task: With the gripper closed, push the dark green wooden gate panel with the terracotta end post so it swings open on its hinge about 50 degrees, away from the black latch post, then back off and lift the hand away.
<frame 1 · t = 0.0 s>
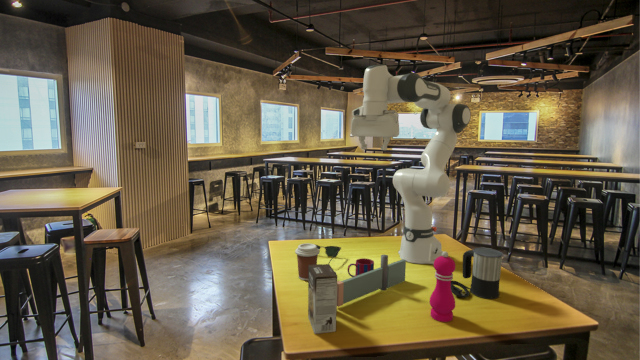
hand: (373, 149, 130), 48 cm above the table, tool pointing down, fingers open, 8 cm apart
coffee cup: (307, 277, 134), on the table
coffee box: (321, 325, 101), on the table
milk frother: (473, 294, 122), on the table
fence: (383, 288, 125), on the table
sunglasses: (318, 262, 151), on the table
pepper mill: (441, 317, 106), on the table
gate: (360, 285, 116), point 5 cm above the table, hinge at 0.0°
mug: (360, 279, 133), on the table
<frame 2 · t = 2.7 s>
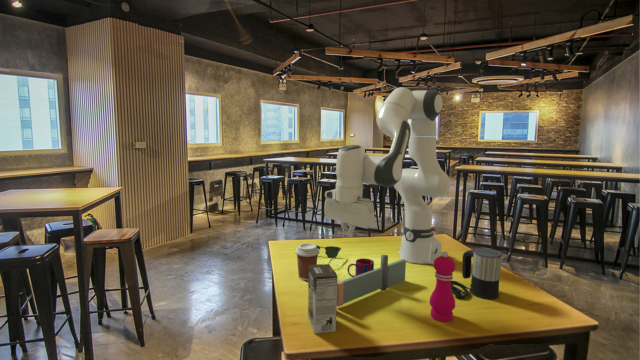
hand: (347, 236, 119), 20 cm above the table, tool pointing down, fingers closed
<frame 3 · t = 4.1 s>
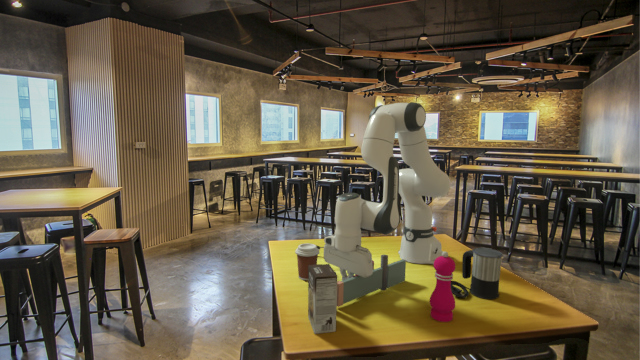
hand: (346, 281, 121), 4 cm above the table, tool pointing down, fingers closed
nothing on the table moved.
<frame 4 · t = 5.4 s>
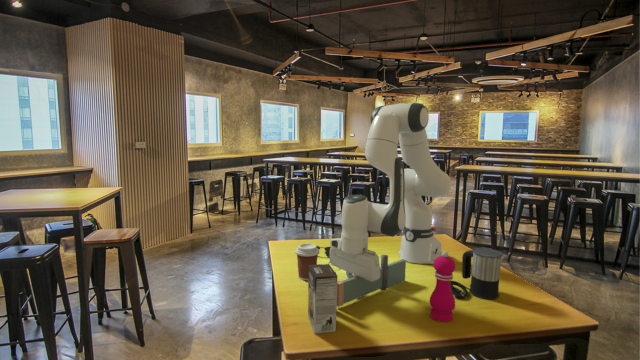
hand: (353, 285, 119), 4 cm above the table, tool pointing down, fingers closed
gate: (360, 285, 116), point 5 cm above the table, hinge at 0.2°, touching gripper
everything else where it was.
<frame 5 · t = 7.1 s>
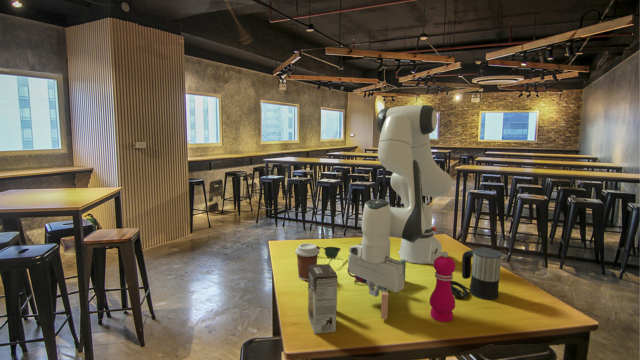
hand: (374, 295, 112), 3 cm above the table, tool pointing down, fingers closed
gate: (384, 291, 112), point 5 cm above the table, hinge at 39.9°, touching gripper
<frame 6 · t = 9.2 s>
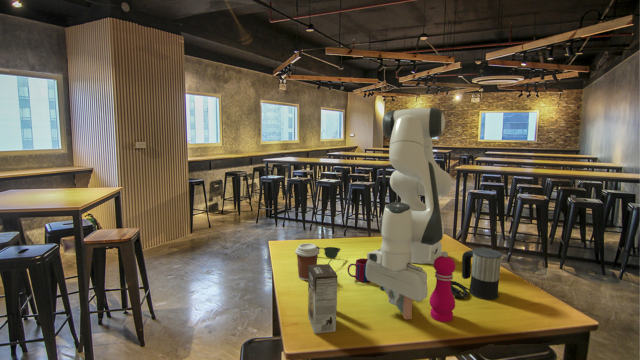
hand: (393, 303, 106), 4 cm above the table, tool pointing down, fingers closed
gate: (395, 291, 112), point 5 cm above the table, hinge at 57.5°, touching gripper
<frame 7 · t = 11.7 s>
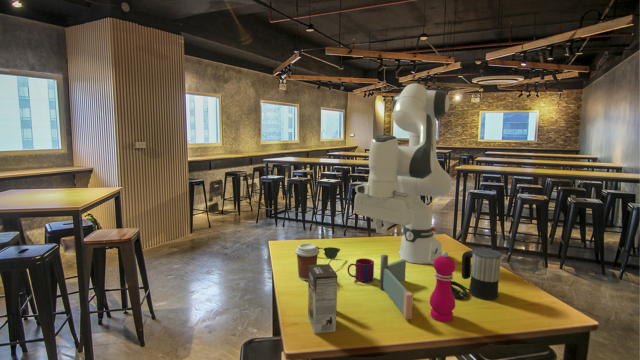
hand: (381, 233, 110), 23 cm above the table, tool pointing down, fingers closed
gate: (396, 291, 112), point 5 cm above the table, hinge at 57.9°
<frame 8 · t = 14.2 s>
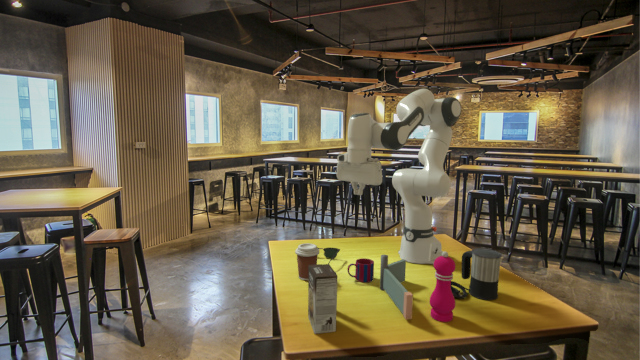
hand: (358, 194, 133), 31 cm above the table, tool pointing down, fingers closed
at the end: gate at +58° (first picture: +0°) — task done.
